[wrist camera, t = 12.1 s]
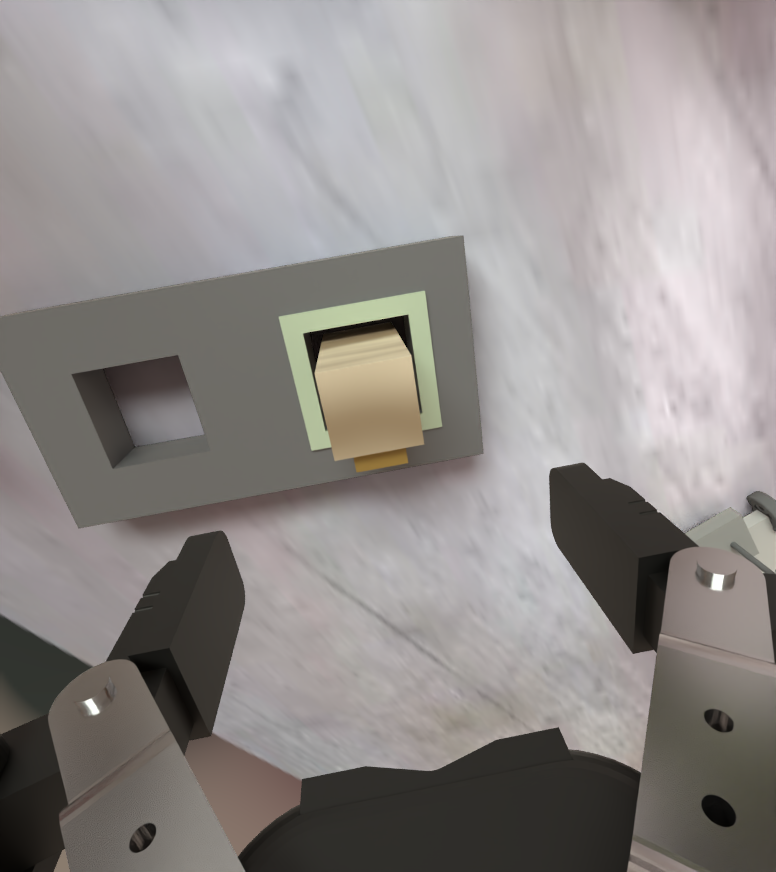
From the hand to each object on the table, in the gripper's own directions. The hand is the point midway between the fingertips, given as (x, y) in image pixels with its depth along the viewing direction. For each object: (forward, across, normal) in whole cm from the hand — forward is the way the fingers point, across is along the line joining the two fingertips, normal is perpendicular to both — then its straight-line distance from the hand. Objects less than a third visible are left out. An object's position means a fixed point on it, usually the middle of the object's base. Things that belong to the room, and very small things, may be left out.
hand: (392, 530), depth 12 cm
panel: (+18, +6, 0) cm, 19 cm away
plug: (+18, 0, 0) cm, 18 cm away
